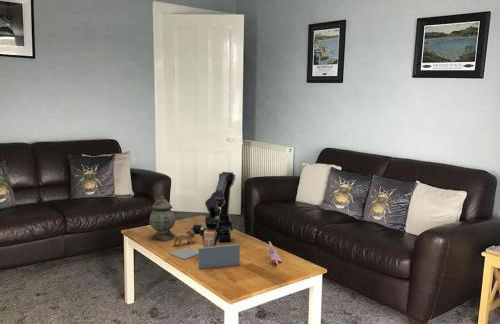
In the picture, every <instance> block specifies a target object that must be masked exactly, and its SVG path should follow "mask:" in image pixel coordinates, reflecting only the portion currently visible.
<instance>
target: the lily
mask: <svg viewBox="0 0 500 324" xmlns="http://www.w3.org/2000/svg"><path fill="white" fill-rule="evenodd" d="M268 243H269V246H265V248H266V250H268V252H269V256H268V257H267V258H266V259H265V260H264V262H266V261H267V260H268V259H269V258H271V260H274V262H275V263H276V264H277V266H279V261H280V262H283V260H282V258H281V256H280V255H279V254H278V253H277V249H275V248H274V246H273V244H272V242H271V241H268Z"/></svg>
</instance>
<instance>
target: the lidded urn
mask: <svg viewBox="0 0 500 324" xmlns="http://www.w3.org/2000/svg"><path fill="white" fill-rule="evenodd" d="M172 209H173V206H172V204H171V203H169V201H168V199H165V196H164V195H160V196H159V198H158V199H156V200H155V201H154V203H153V204H152V205H151V212H150V216H149V225H150V227H151V228H152V229H153V230H155V231H156V232H155V233H154V234H153V235H152V236H151V238H152V240H153V241H156V242H170V241H173V240H175V237H176V234H174V233H173V232H171V229H172V228H173V227H174V226H175V223H176V216H175V214H174V211H173V210H172Z"/></svg>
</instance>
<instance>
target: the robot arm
mask: <svg viewBox="0 0 500 324" xmlns="http://www.w3.org/2000/svg"><path fill="white" fill-rule="evenodd" d="M235 181H236V174H234V172H229V171H222V172H221V173H218V181H217V184H216V188H215V191H214V192H213V193H211V195H210V198H207V199H206V201H205V203H204V204H205V206H206V207H205V208H206V210H207V212H208V216H206V217H205V220H204V224H205V227H204V226H202V224H194V225H193V226H192V227H193V232H194V234H195V235H199V236H201V239H202V244H203V246H204V232H205V230H206V229H207V230H216V238H215V242H214V246H217V245H218V243H219V242H220V243H226V242H232V239H231V232H232V231H234V226H233V222H232V218H231V216H230V213H229V212H230V199H231V188H232V187H233V185H234V183H235Z"/></svg>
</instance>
